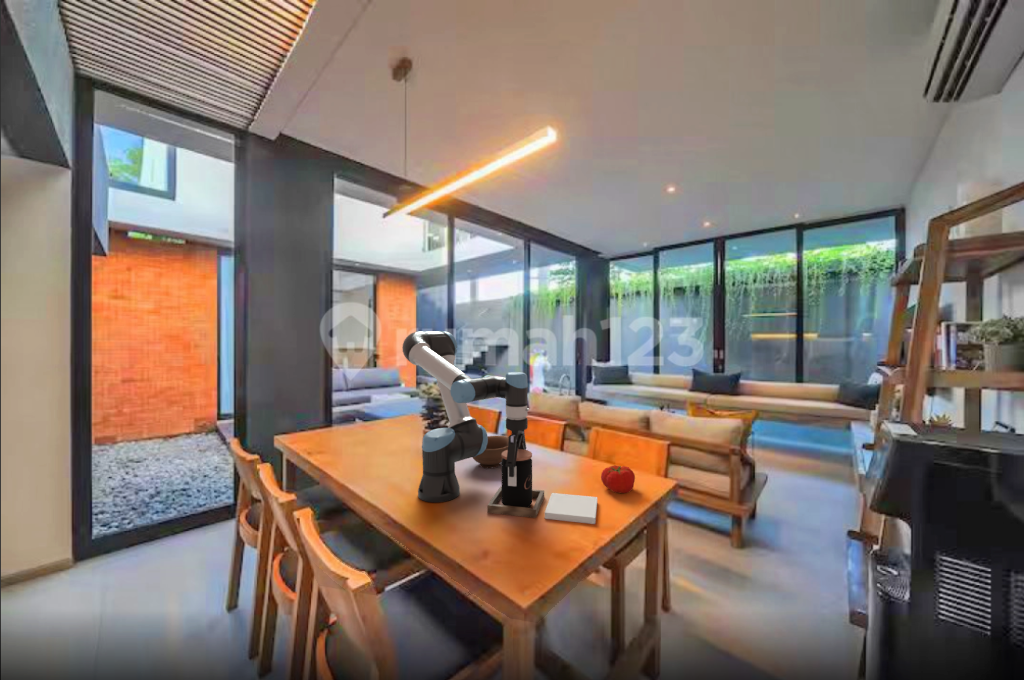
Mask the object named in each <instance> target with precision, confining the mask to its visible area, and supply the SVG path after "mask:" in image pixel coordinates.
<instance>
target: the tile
mask: <svg viewBox="0 0 1024 680" xmlns="http://www.w3.org/2000/svg"><path fill="white" fill-rule="evenodd" d="M597 508H598V497H597V496H590V495H589V496H588V495H578V494H567V493H556V492H551V494H550V497H549V500H548V501H547V506H546V507H545V510H544V519H545V520H553V521H555V520H557V521H561V522H562V521H563V522H573V523H582V524H589V525H590V524H591V525H596V522H597V521H596V520H597V512H598V511H597V510H598V509H597Z"/></svg>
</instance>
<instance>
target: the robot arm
mask: <svg viewBox="0 0 1024 680" xmlns="http://www.w3.org/2000/svg"><path fill="white" fill-rule="evenodd" d="M457 348H458V342H457V340H456V337H455V336H454V335H453V334H452V333H451V332H449V331H443V330H436V331H435V330H434V331H431V330H430V331H429V330H428V331H421V330H420V331H414V332H412V333H410V334H408V335H407V336H406V337H405V339H404V340H403V343H402V349H401V350H402V353H403V355H404V357H405V359H406V360H407V361H408V362H409V363H410V364H412V365H414V366H418V367H420V368H421V369H422V370H424V371H426V372H427V373H428V374H429V375H430V376H432V377H433V378H435V379H436V382H437V386H438V389H439V391H440V395H441V398H442V402H443V405H444V408H445V411H446V412H445V413H446V415H447V417H448V420H449V421H448V422H449V424H448V427H440V428H439V427H438V428H434V429H431V430H429V431H427V432H426V433H425V434H424V435H423V437H422V445H421V449H422V477H421V480H420V483H419V485H418V489H417V497H418V499H420V500H421V501H423V502H426V503H427V502H428V503H444V502H449V501H451V500H455V499H457V498H458V497H459V496H460V493H461V491H460V489H461V488H460V487H461V486H460V484H459V481H458V478H457V475H456V472H455V471H456V466H455V465H456V464H455V463H457V462H460V461H463V460H467V459H470V458H473V457H475V456H477V455H480V454H481V453H483V452H484V451H485V449H486V445H487V443H488V437H487V436H488V432H487V430H486V428H485V427H483V425H481V424H478V422H477V419H476V418H475V417H473V416H472V415H471V413H470V410H469V407H468V403H473V402H476V401H482V400H488V399H493V398H494V399H495V398H500V399H503V400H505V417H506V418H505V429H507V431H511V433H510V435H508V436H507V437H508V438H509V442H508V452H507V462H506V464H505V466H506V467H508V486H517V484H516V459H517V452H518V449H524V450H527V441H526V437H525V436H526V435H525V430H527V429H528V428H529V427H528V425H529V424H528V421H529V419H528V418H527V417H528V412H529V411H530V408H529V407H528V389H529V388H528V387H529V384H528V375H527V374H526V373H525V372H522V371H521V372H518V371H510V372H506V374H505V376H497V375H494V374H493V375H489V374H488V375H484V376H483V377H479V378H471V377H470V376H469V375H468V374H466V373H464V372H463V371H462V370H460V369H459V368H457V367H456V366H455V363H454V362H455V359H456V355H457V352H458V349H457ZM510 462H512V463H510Z"/></svg>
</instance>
